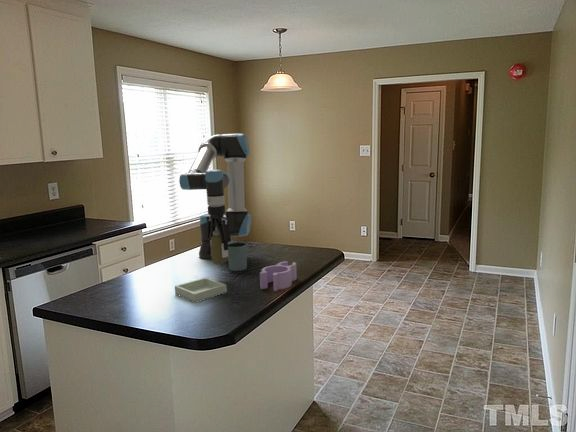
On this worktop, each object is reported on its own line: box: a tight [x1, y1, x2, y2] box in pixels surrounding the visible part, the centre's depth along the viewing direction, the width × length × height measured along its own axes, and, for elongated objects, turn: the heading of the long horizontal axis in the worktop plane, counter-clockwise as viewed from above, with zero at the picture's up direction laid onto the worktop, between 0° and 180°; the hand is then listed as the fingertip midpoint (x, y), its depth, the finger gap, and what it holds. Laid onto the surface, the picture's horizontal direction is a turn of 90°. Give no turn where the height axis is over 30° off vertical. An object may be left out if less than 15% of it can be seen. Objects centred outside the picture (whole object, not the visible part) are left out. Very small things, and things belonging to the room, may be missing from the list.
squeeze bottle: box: [211, 226, 228, 265], centre depth 207 cm, size 8×8×18 cm
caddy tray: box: [174, 277, 228, 303], centre depth 188 cm, size 15×15×4 cm
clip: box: [259, 261, 297, 292], centre depth 198 cm, size 20×12×7 cm, turn 151°
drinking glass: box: [227, 241, 248, 272], centre depth 222 cm, size 10×10×12 cm
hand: (219, 255), depth 208 cm, fingers closed on squeeze bottle, 8 cm apart
